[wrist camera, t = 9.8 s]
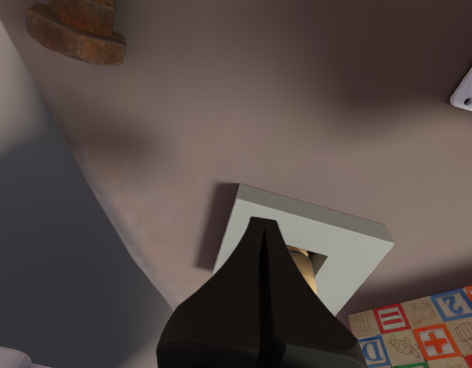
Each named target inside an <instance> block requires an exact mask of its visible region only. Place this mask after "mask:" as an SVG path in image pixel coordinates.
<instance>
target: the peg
mask: <svg viewBox="0 0 472 368" xmlns="http://www.w3.org/2000/svg"><path fill="white" fill-rule="evenodd" d="M286 245H287V244H286ZM287 248H288V250H289V252H290V254H291V256H292V258H293V260H294V261H295V263H296V265H297V267H298V268H299V270H300V272H301V273H302V275H303V277H304V278H305V280H306V281H307V283H308V284H309V285H310V287H311V288H312V290H313V291H314V292H315V294H316V295H317V290H316V284H315V278H314V272H313V264H312V261H311V260H310V258H309V257H308V252H307V250H304V249H301V248H297V247H294V246H290V245H287Z"/></svg>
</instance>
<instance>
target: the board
mask: <svg viewBox="0 0 472 368" xmlns="http://www.w3.org/2000/svg"><path fill="white" fill-rule="evenodd" d="M252 216H254V217H261V218H267V219H273V220H276V221H277V222H278V225H279V228H280V231H281V234H282V236H283V239H284V241H285V243H286V244H287V245H290V246H294V247H297V248H301V249H304V250H308V251H312V252H315V254H314V255H313V257H312V259H311V261H312V264H313V272H314V278H315V284H316V290H317V296H318V297H319V299H320V300H321V301H322V302H323V304H324V305H325V306H326V307H327V308H328V310H329V311H330V312H331V313H332V314H333V315H334V316H336V315H337V313H338V312H339V311H340V310H341V308H342V307H343V306H344V305H345V304H346V302H347V301H348V300H349V299H350V298H351V296H352V295H353V294H354V293H355V292H356V290H357V289H358V288H359V287H360V285H361V284H362V283H363V282H364V281H365V279H366V278H367V277H368V276H369V275H370V273H371V272H372V271H373V270H374V269H375V267H376V266H377V265H378V264H379V262H380V261H381V260H382V259H383V258H384V256H385V255H386V254H387V253H388V252H389V250H390V249H391V248H392V247H393V246H394V244H395V242H394V240H393V238H392V237H391V235H390V233H389V231H388V230H387V228H386V226H385V225H383V224H380V223H376V222H373V221H369V220H366V219H362V218H359V217H355V216H352V215H348V214H345V213H341V212H338V211H334V210H331V209H327V208H323V207H320V206H316V205H313V204H309V203H306V202H302V201H299V200H295V199H292V198H288V197H285V196H281V195H278V194H274V193H271V192H267V191H264V190H260V189H257V188H253V187H250V186H246V185H243V184H240V185H239V188H238V191H237V194H236V197H235V201H234V204H233V207H232V210H231V213H230V217H229V220H228V223H227V226H226V229H225V233H224V236H223V239H222V242H221V245H220V249H219V252H218V255H217V258H216V261H215V265H214V268H213V272H212V276H213V275H214V274H215V273H216V272H217V271H218V270H219V269H220V267H221V266H222V265H223V264H224V263H225V261H226V260H227V259H228V258H229V256H230V255H231V254H232V252H233V251H234V249H235V248H236V246H237V245H238V243H239V241H240V240H241V238H242V236H243V234H244V232H245V230H246V228H247V226H248V223H249V220H250V217H252ZM212 276H211V277H212Z"/></svg>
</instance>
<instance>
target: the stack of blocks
mask: <svg viewBox="0 0 472 368" xmlns="http://www.w3.org/2000/svg"><path fill="white" fill-rule="evenodd" d="M348 319H349V323H350V327H351V331H352V334H353V335H354V336H355V337H356V338H357V339H358V341H359V344H360V346H361V349H362V351H363V354H364V357H365V359H366V363H367V366H368V368H472V285H471V286H467V287H463V288H462V289H456V290H452V291H448V292H444V293H440V294H436V295H431V296H428V297H424V298H420V299H415V300H411V301H407V302H403V303H397V304H393V305H389V306H385V307H381V308H377V309H373V310H368V311H364V312H359V313H355V314H351V315H348Z"/></svg>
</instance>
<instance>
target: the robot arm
mask: <svg viewBox="0 0 472 368" xmlns="http://www.w3.org/2000/svg"><path fill="white" fill-rule="evenodd" d="M467 98H469V101H468V102H467V103H466V104H464V101H465V100H466V99H467ZM450 103H451V105H453V106H455V107H459V108H462V109H465V110H468V111H472V67H471V69H470V70H469V72H468V73H467V75H466V76H465V77H464V79H463V80H462V82H461V83H460V85H459V86H458V88H457V89H456V90H455V92H454V93H453V95H452V96H451V98H450ZM156 355H157V364H158V368H368V366H367V363H366V359H365V357H364V354H363V351H362V349H361V346H360V344H359V341H358V339H357V338H356V337H355V336H354V335H353V334H352V333H351V332H350V331H349V330H348V329H347V328H346V327H345V326H344V325H343V324H342V323H341V322H340V321H339V320H338V319H337V318H336V317H335V316H334V315H333V314H332V313H331V312H330V311H329V310H328V308H327V307H326V306H325V305H324V304H323V302H322V301H321V300H320V299H319V297H318V296H317V295H316V294H315V292H314V291H313V290H312V288H311V287H310V285H309V284H308V283H307V281H306V280H305V278H304V277H303V275H302V273H301V272H300V270H299V268H298V267H297V265H296V263H295V261H294V260H293V258H292V256H291V254H290V252H289V250H288V248H287V245H286V243H285V241H284V239H283V236H282V234H281V231H280V228H279V225H278V222H277V221H276V220H273V219H267V218H261V217H254V216H252V217H250V220H249V223H248V226H247V228H246V230H245V232H244V234H243V236H242V238H241V240H240V241H239V243H238V245H237V246H236V248H235V249H234V251H233V252H232V254H231V255H230V256H229V258H228V259H227V260H226V261H225V263H224V264H223V265H222V266H221V267H220V269H219V270H218V271H217V272H216V273H215V274H214V275H213V276H212V277H211V278H210V279H209V280H208V281H207V282H206V283H205V284H204V285H203V286H202V287H201V288H200V289H198V290H197V291H196V292H195V293H194V294H193V295H191V296H190V297H189V298H187V299H186V300H185V301H184V302H182V303H181V304H180V305H178V307H177V308H176V310H175V311H174V313H173V314H172V316H171V317H170V319H169V320H168V322H167V324H166V326H165V328H164V330H163V332H162V334H161V337H160V340H159V342H158V345H157V349H156ZM0 368H51V367H46V366H41V365H36V364H32V363H31V360H30V358H29V356H28V355H26V354H25V353H23V352H21V351H18V350H14V349H9V348H4V347H0Z"/></svg>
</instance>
